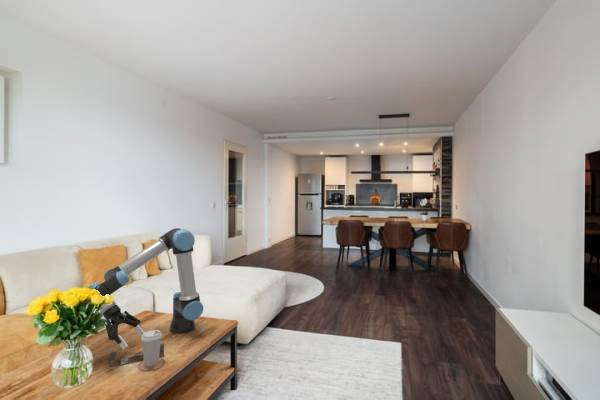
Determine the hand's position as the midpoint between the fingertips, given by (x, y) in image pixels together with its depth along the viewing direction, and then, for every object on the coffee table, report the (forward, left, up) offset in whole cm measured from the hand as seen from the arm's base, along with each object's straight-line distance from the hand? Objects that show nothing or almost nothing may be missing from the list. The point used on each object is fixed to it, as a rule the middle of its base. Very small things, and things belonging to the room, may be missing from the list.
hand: (135, 341), depth 161 cm
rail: (-1, +5, -10) cm, 12 cm away
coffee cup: (-7, +6, -10) cm, 14 cm away
